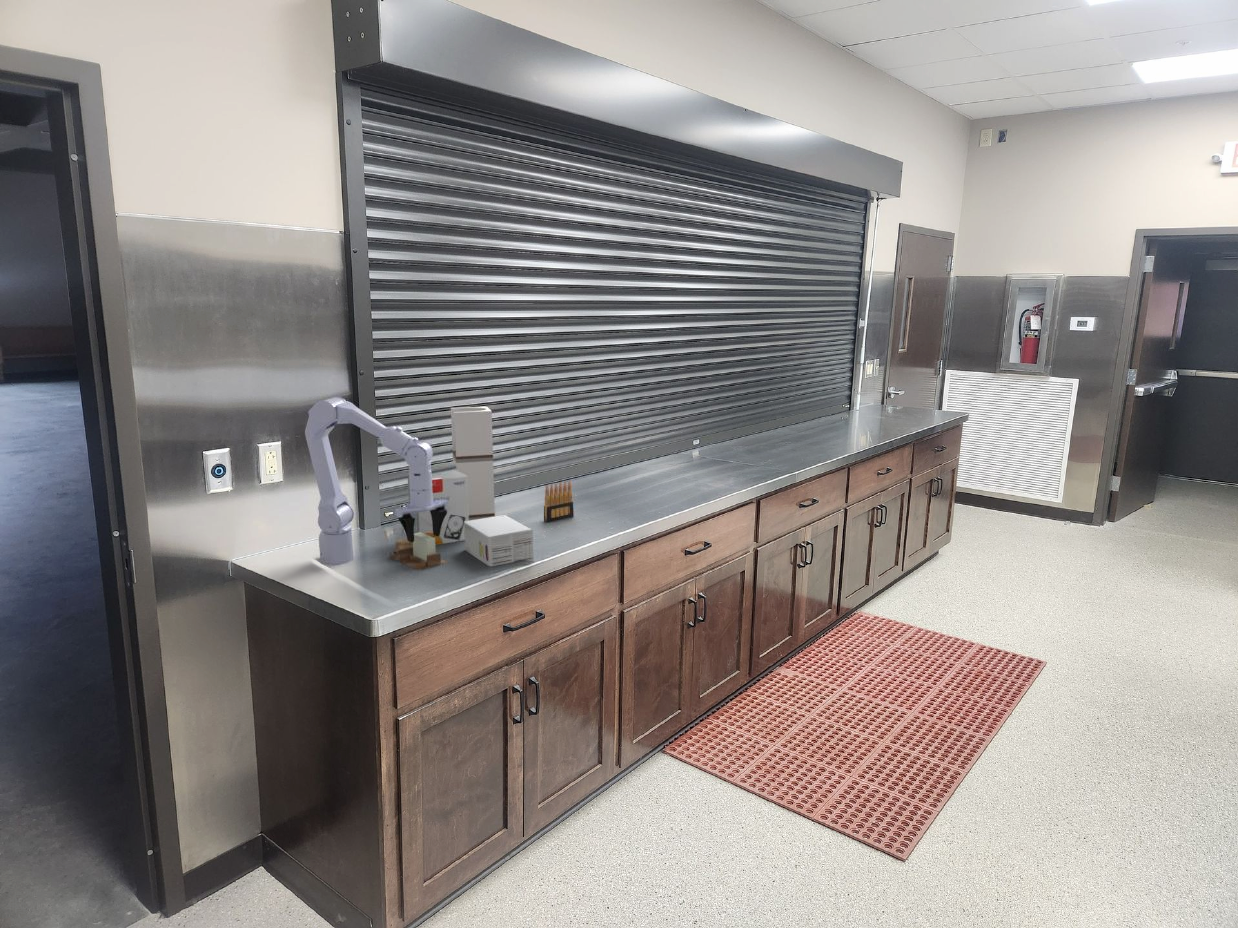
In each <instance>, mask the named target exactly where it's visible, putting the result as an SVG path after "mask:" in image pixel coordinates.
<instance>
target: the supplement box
mask: <svg viewBox="0 0 1238 928" xmlns="http://www.w3.org/2000/svg"><path fill="white" fill-rule="evenodd" d="M464 534H465V540H464V550H465V551H466V552H467V553H469V554H471V556H473V557H474V558H476V559H478V560H479V561H480V562H483V563H484V564H485V565H487V566H488V567H495V566H500V565H501V566H502V565H505V564H510V563H517V562H520V561H526V562H528V563H529V562H534V529H533V528H531V527H529V526H527V525H525V524H523V523H522V522H519V521H517V520H516V519H514V518H512V517H510V516H508V514H501V515H495V516H494V517H489V518H483V519H476V520H470V521H465V522H464Z"/></svg>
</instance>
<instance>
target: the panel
mask: <svg viewBox="0 0 1238 928" xmlns="http://www.w3.org/2000/svg"><path fill="white" fill-rule="evenodd" d="M436 549H437V548H436V545H435V538H433V537H431V536H428V535H426V534H424V533H421V532H418V533H414V542H413V556H416V557H418V558H420V559H422V560H424V561H426V562H427V556H428V555H432V554H436V553H437V551H436Z"/></svg>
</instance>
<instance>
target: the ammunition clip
mask: <svg viewBox="0 0 1238 928" xmlns="http://www.w3.org/2000/svg"><path fill="white" fill-rule="evenodd" d="M572 491H573V490H572V483H571V481H570V480H568V482H566V481H564V483H563V485H562V482H559V483H558V484H557V482H556V483H555V484H554V486H553V483H551V484H550V488H549V485H548V484H546V486H545V491H544V492H545V495H544V505H543V522H545V523H552V522H557V521H561V520H566V519H570V518H574V517H575V515H574V514H575V512H574V502H573V492H572Z"/></svg>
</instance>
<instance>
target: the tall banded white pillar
mask: <svg viewBox="0 0 1238 928" xmlns="http://www.w3.org/2000/svg"><path fill="white" fill-rule="evenodd" d="M492 413H493V412H492V410H491V409H490V408H489V407H488V406H471V407H469V406H468V407H467V406H466V407H463V406H462V407H450V419H451V421H450V423H451V444H452V447H451V449H452V461H453V463H454V465H455V467H456V472H458V471H459V472H461V473H463V474H465V475H467V476H468V511H469V521H470V520H476V519H483V518H489V517H494V516H496V511H495V510H496V509H495V508H496V507H495V482H494V481H495V480H494V479H495V475H494V472H495V471H494V447H493V446H494V443H493V439H494V438H493V416H492V415H493V414H492Z"/></svg>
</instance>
